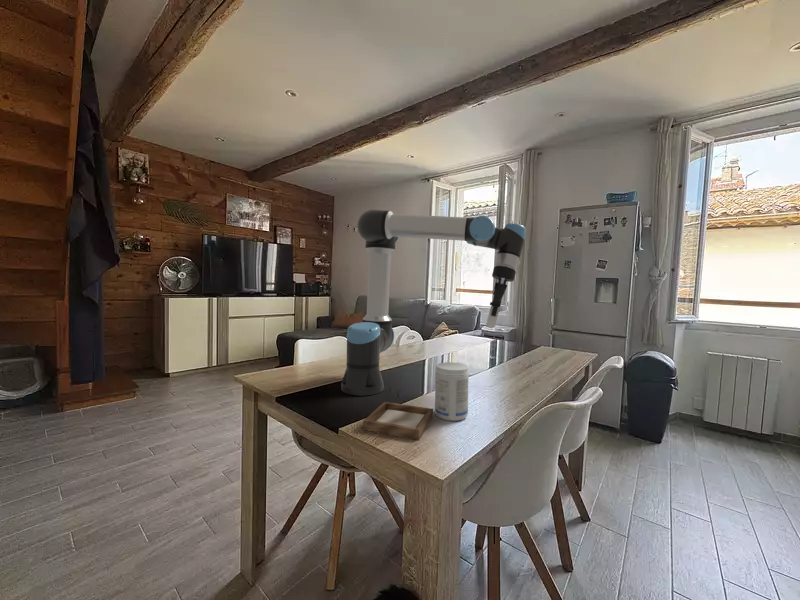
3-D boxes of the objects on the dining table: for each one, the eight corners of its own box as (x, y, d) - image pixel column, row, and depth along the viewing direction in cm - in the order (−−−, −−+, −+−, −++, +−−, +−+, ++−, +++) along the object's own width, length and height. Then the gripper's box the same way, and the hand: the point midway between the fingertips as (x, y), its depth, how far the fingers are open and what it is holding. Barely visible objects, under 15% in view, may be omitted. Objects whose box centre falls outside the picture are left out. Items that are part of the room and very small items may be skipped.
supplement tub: (464, 409, 101) (465, 362, 101) (471, 422, 92) (472, 370, 91) (432, 409, 101) (433, 361, 101) (436, 421, 92) (437, 369, 91)
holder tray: (363, 430, 85) (363, 420, 85) (384, 409, 100) (384, 401, 99) (419, 440, 81) (419, 430, 80) (433, 417, 95) (433, 408, 95)
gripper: (520, 262, 102) (503, 328, 101) (512, 277, 126) (498, 331, 125) (496, 257, 104) (478, 322, 103) (493, 272, 128) (479, 325, 127)
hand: (489, 327), depth 114 cm, fingers open, 13 cm apart
